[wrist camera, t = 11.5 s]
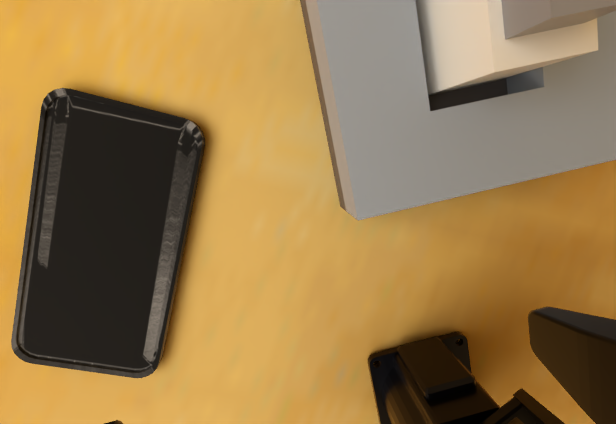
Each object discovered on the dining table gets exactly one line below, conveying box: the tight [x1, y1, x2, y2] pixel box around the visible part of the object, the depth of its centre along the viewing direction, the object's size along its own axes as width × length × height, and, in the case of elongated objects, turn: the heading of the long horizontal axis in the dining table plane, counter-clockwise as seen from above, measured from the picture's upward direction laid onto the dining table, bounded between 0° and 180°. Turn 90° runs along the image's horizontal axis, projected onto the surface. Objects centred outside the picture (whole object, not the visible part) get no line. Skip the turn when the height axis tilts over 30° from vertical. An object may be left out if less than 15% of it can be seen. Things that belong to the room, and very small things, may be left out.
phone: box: [11, 88, 205, 378], centre depth 19 cm, size 8×1×15 cm
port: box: [300, 0, 616, 220], centre depth 17 cm, size 16×14×4 cm
